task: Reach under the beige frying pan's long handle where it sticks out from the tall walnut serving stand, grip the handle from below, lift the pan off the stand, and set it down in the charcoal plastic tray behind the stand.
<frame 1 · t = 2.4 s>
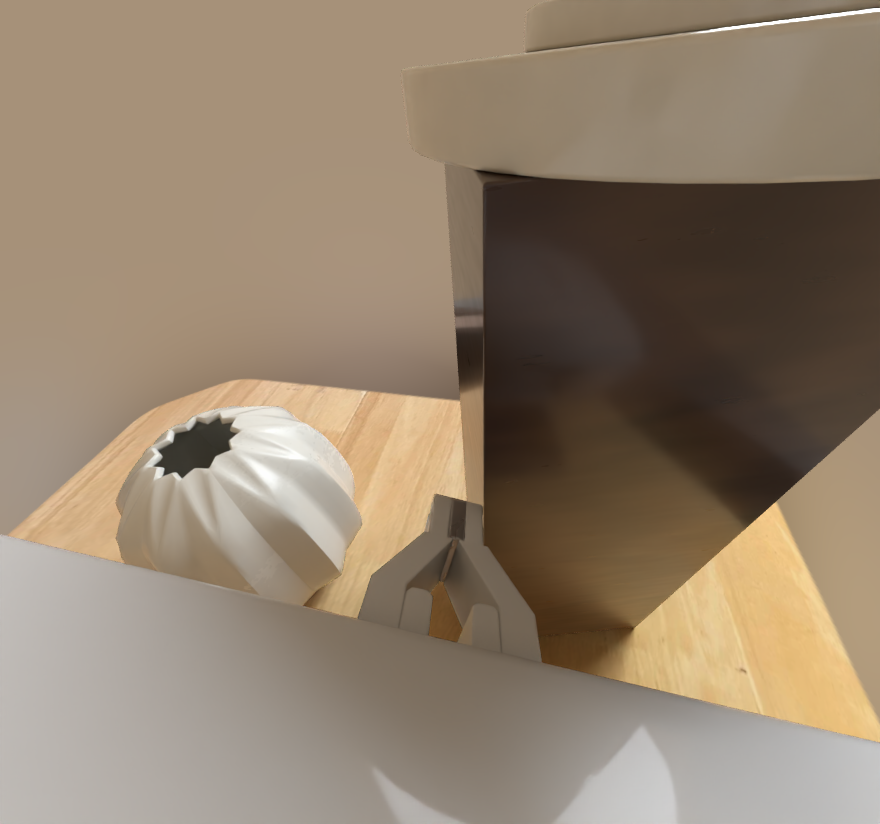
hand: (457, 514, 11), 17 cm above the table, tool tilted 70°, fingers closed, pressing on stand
vase: (289, 549, 29), on the table
stand: (542, 572, 26), on the table
beige frying pan: (685, 111, 8), point 26 cm above the table, touching stand
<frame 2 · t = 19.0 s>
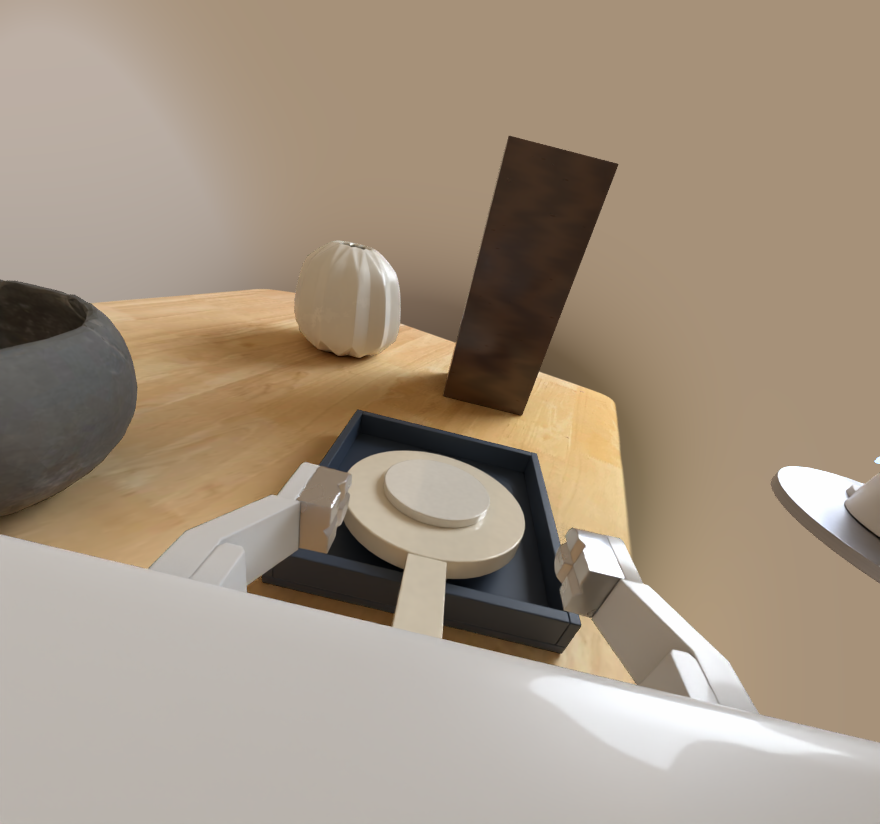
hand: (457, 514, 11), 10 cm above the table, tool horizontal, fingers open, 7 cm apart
tray: (430, 514, 25), on the table
vase: (345, 348, 50), on the table
stand: (482, 392, 46), on the table
beige frying pan: (431, 508, 23), point 2 cm above the table, tilted 10°, touching tray
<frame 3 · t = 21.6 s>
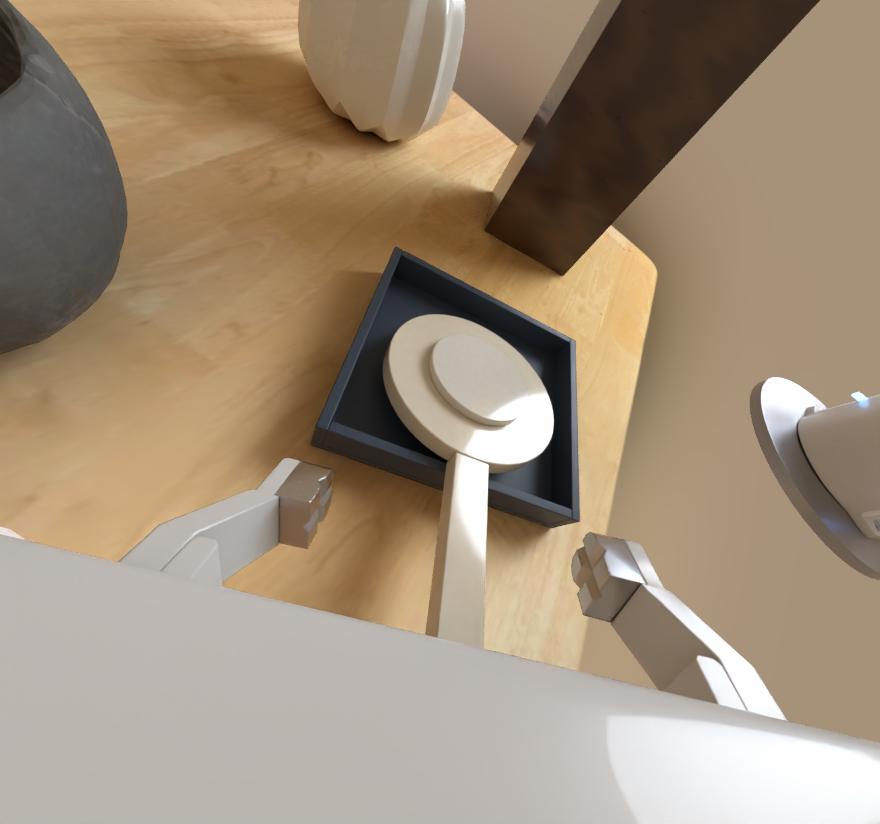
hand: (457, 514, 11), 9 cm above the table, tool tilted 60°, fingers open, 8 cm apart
tray: (462, 390, 25), on the table
vase: (366, 116, 36), on the table
stand: (527, 232, 39), on the table
beige frying pan: (468, 391, 23), point 2 cm above the table, tilted 10°, touching tray
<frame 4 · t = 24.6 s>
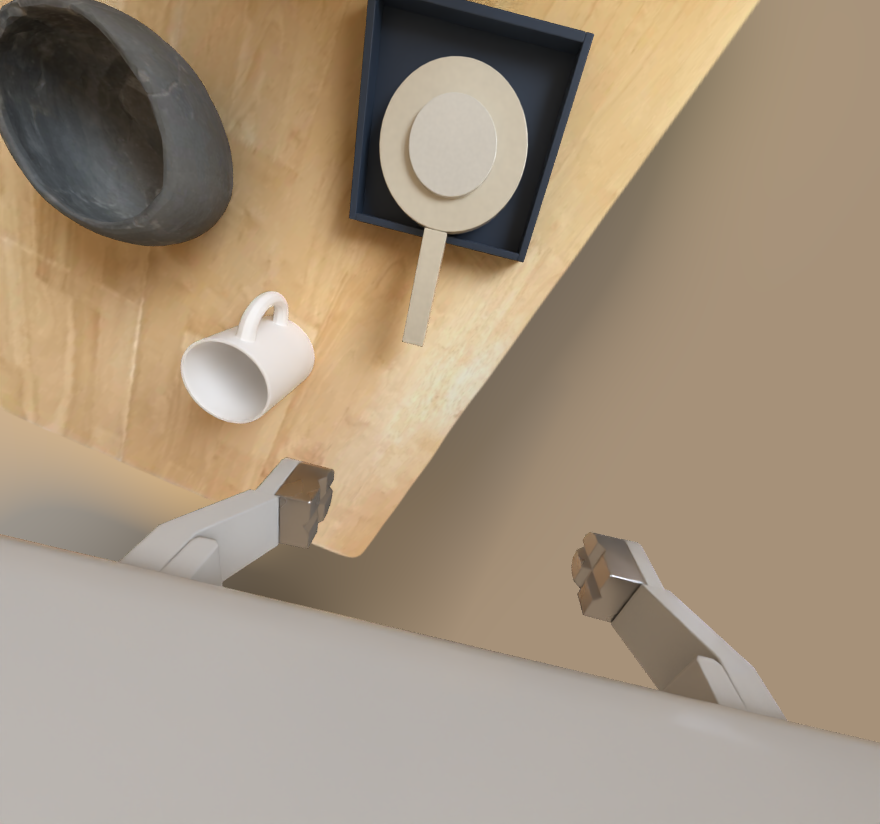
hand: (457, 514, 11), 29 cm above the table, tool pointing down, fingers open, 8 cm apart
tray: (458, 144, 30), on the table
bowl: (185, 156, 33), on the table
beige frying pan: (452, 155, 29), point 2 cm above the table, tilted 10°, touching tray
mug: (286, 335, 40), on the table
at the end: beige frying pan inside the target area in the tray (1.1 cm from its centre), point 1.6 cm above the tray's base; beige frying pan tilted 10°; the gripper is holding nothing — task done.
